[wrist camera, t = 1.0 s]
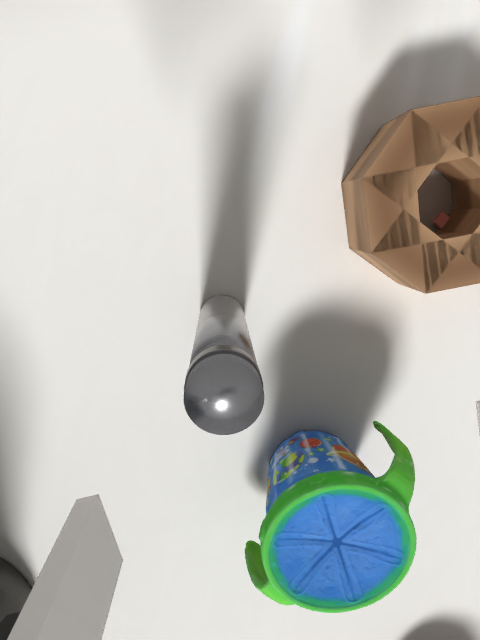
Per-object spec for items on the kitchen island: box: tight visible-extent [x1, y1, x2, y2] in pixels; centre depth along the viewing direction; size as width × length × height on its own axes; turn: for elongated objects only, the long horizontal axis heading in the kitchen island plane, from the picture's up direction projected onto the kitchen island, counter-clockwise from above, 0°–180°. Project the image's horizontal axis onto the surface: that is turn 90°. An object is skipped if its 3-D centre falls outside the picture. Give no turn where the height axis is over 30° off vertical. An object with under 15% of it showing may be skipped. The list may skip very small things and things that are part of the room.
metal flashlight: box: [184, 295, 264, 435], centre depth 27 cm, size 4×4×16 cm
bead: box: [341, 96, 480, 293], centre depth 31 cm, size 12×12×5 cm
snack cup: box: [245, 421, 416, 613], centre depth 33 cm, size 16×10×10 cm
